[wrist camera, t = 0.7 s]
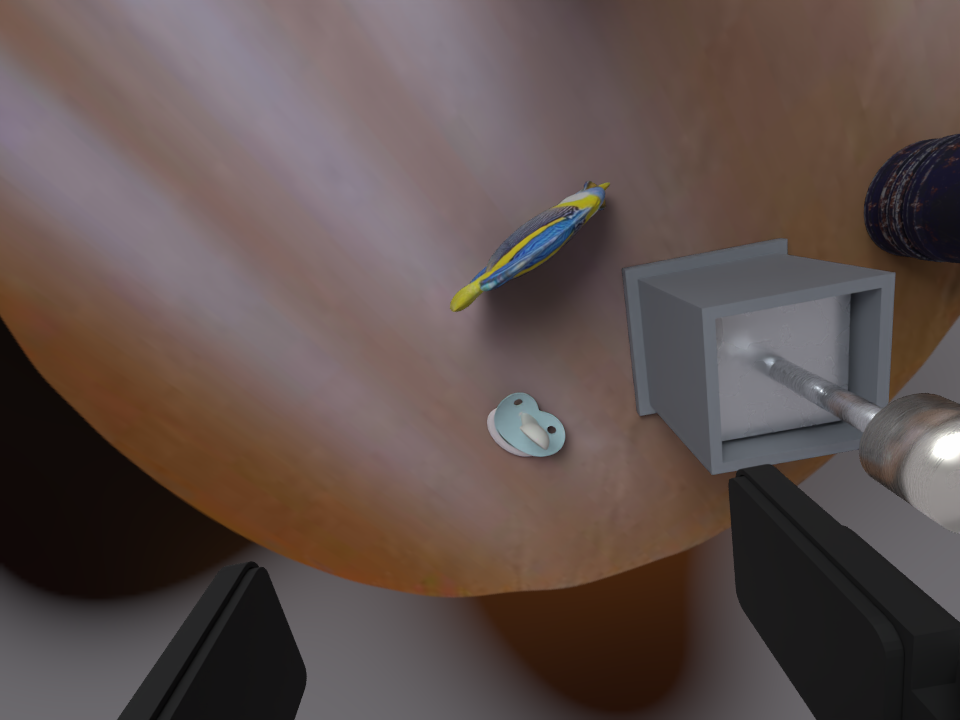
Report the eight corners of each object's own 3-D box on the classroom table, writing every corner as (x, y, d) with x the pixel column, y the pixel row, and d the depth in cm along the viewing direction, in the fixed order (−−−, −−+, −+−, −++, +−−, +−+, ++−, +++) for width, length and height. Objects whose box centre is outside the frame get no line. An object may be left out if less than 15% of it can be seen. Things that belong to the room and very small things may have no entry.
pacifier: (528, 465, 51) (569, 424, 50) (533, 501, 45) (581, 456, 44) (472, 421, 50) (514, 378, 48) (471, 453, 44) (518, 404, 42)
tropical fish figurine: (591, 167, 43) (625, 158, 33) (611, 199, 44) (650, 199, 34) (443, 279, 45) (435, 299, 36) (464, 307, 46) (462, 335, 37)
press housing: (621, 268, 45) (685, 296, 32) (780, 238, 45) (912, 253, 31) (636, 411, 49) (698, 489, 36) (782, 385, 49) (899, 454, 35)
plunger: (703, 314, 35) (880, 400, 20) (840, 289, 35) (1127, 357, 20) (710, 436, 38) (870, 593, 23) (837, 413, 38) (1087, 558, 22)
